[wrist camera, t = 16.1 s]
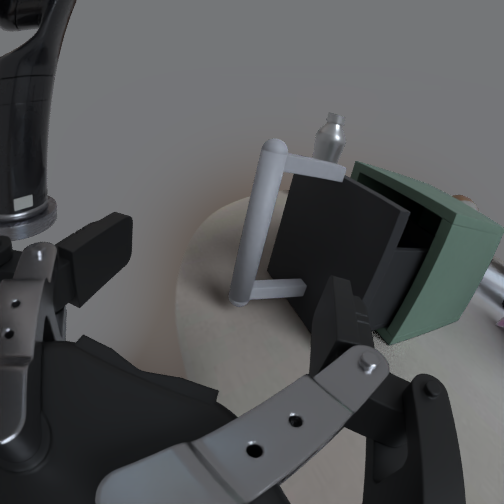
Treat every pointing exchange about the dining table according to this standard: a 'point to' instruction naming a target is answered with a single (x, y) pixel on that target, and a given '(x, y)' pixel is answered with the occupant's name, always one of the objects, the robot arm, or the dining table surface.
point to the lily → (500, 322)
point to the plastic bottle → (330, 139)
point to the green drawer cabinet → (435, 252)
